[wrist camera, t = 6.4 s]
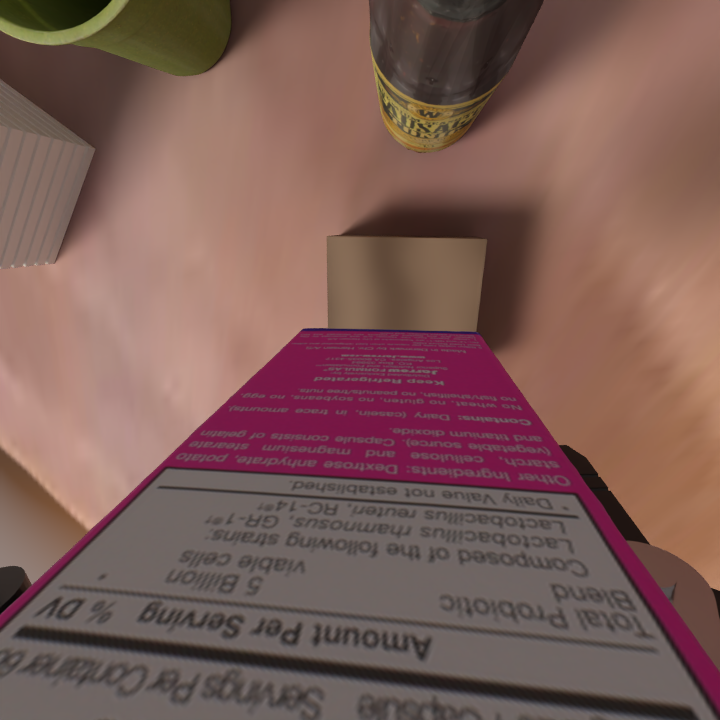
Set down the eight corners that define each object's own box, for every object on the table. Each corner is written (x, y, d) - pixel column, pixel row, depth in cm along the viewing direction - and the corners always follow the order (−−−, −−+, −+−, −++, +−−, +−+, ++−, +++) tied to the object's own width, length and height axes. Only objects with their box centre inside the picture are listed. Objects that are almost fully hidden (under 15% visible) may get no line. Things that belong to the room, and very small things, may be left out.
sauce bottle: (374, 149, 26) (278, -34, 8) (392, 40, 24) (319, -562, 6) (467, 165, 26) (596, 12, 7) (494, 56, 24) (771, -540, 5)
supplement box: (473, 487, 13) (719, 1586, 3) (308, 475, 14) (-34, 1272, 3) (490, 326, 11) (1766, 2018, 1) (298, 322, 12) (-579, 1039, 1)
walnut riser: (475, 237, 28) (487, 239, 23) (461, 365, 31) (469, 389, 26) (341, 234, 29) (326, 236, 24) (341, 358, 32) (328, 380, 28)
